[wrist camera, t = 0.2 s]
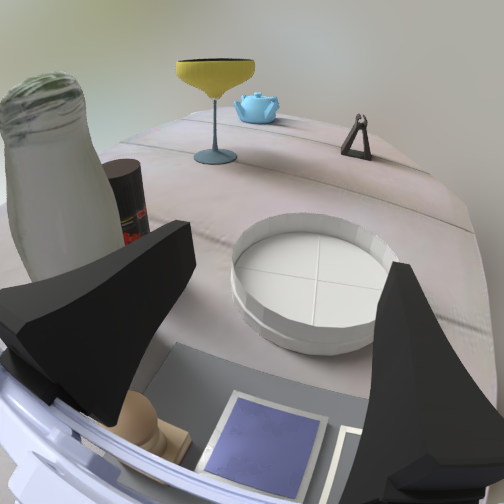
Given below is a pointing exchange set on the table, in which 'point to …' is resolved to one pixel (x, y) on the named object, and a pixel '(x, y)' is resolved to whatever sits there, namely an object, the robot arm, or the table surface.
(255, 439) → the ink pad
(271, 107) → the teapot
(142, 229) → the deodorant
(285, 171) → the table surface
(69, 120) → the glass bottle
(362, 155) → the phone stand
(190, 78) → the cocktail glass
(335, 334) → the dish
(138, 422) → the stamp
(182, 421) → the desk mat
